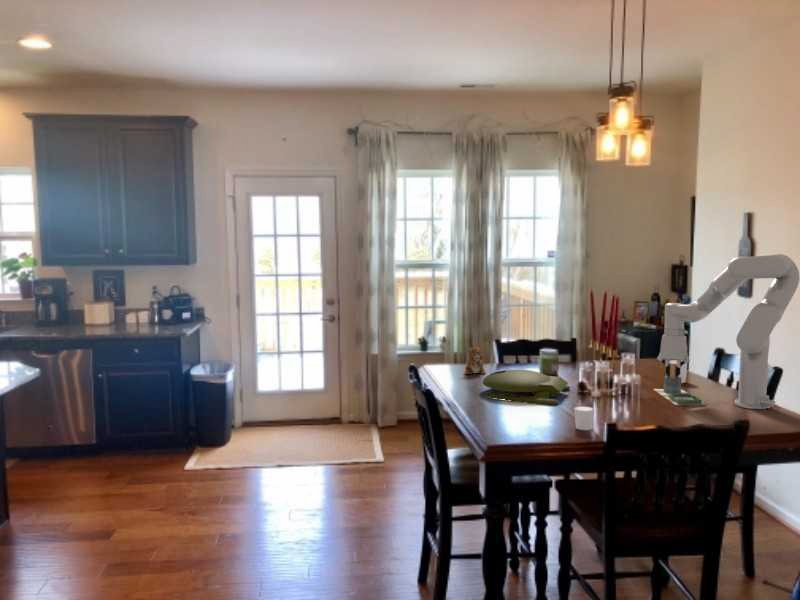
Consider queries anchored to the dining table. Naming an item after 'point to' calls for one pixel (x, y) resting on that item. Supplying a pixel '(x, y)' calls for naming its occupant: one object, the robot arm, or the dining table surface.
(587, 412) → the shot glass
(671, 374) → the dowel
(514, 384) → the spaceship
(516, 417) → the dining table surface
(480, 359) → the stuffed squirrel
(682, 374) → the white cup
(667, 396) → the stand
